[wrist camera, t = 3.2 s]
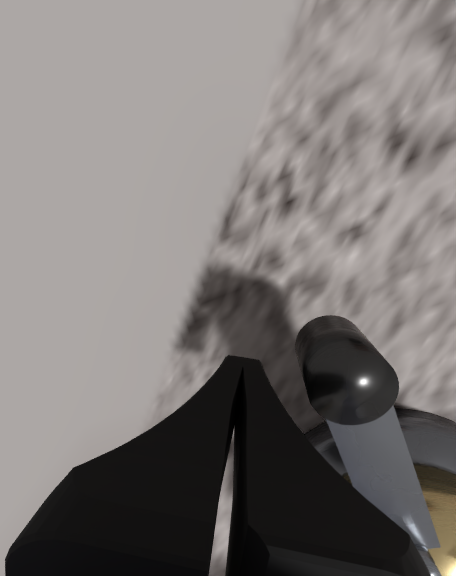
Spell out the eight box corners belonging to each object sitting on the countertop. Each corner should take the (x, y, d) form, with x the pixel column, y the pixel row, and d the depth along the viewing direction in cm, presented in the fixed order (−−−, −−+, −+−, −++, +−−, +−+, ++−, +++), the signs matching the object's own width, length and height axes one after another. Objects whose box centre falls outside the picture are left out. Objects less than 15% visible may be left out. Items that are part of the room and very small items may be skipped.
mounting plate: (458, 590, 16) (480, 632, 14) (259, 547, 16) (259, 582, 15) (550, 432, 12) (592, 464, 11) (293, 390, 13) (298, 414, 11)
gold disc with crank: (518, 584, 13) (619, 727, 9) (336, 603, 15) (361, 728, 11) (438, 266, 9) (552, 299, 6) (209, 345, 11) (187, 408, 7)
